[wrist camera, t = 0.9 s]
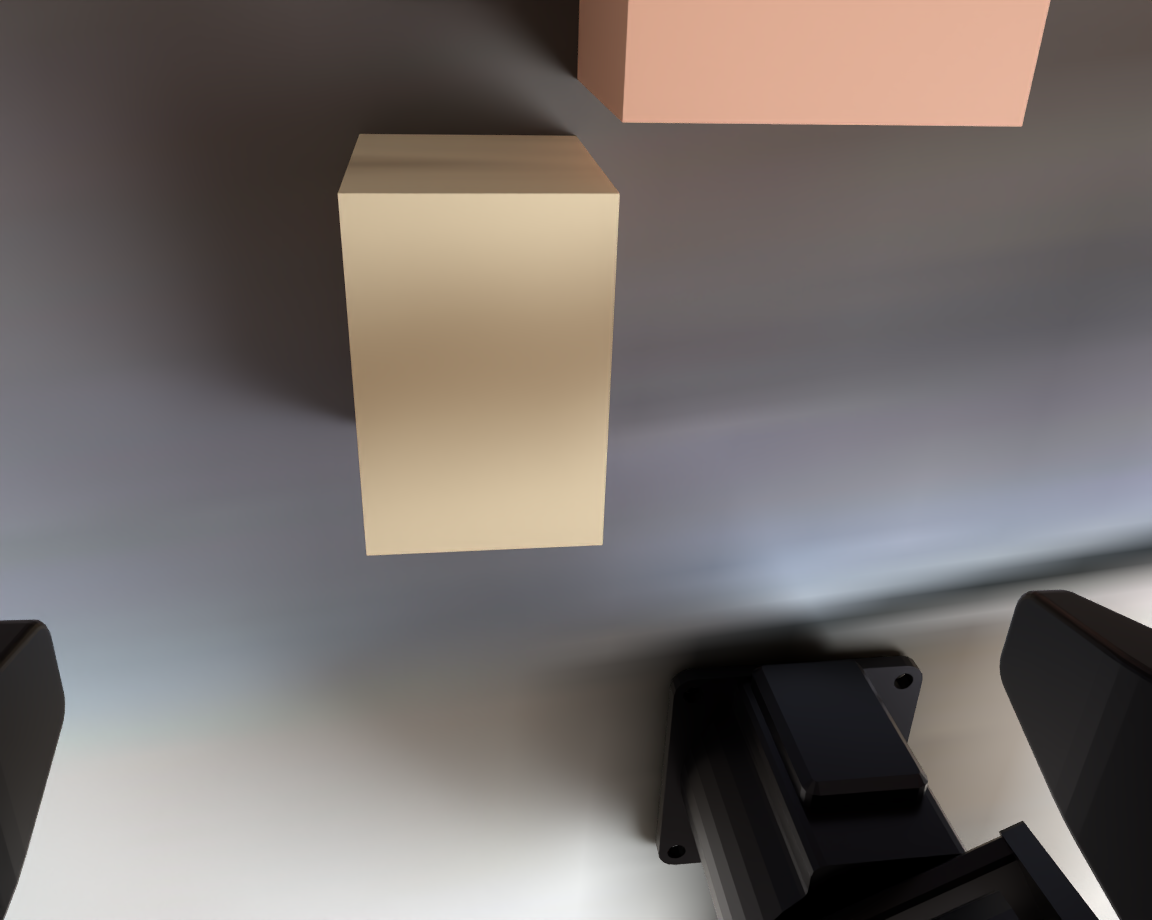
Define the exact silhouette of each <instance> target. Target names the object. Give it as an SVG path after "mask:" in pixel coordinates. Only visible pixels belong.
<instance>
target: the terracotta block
mask: <svg viewBox="0 0 1152 920" xmlns="http://www.w3.org/2000/svg"><path fill="white" fill-rule="evenodd" d="M1049 4H1050V0H580V3H579V38H578V74H577V79H578V80H579V81H580V82H581V83H582V84H583V85H584V86H585V87H586V88H587V89H588V90H589V91H590V92H591V93H592V94H593V95H594V96H595V97H596V98H598V99H599V100H600V101H601V102H602V103H603V104H604V105H605V106H606V107H607V108H608V109H609V110H610V111H611V112H612V113H613V114H614V115H615V116H616V117H617V118H619V119H620V120H621V121H622V122H638V123H736V124H833V125H931V126H1022V123H1023V119H1024V115H1025V110H1026V106H1027V101H1028V97H1029V93H1030V88H1031V84H1032V79H1033V75H1034V70H1035V66H1036V62H1037V57H1038V53H1039V48H1040V44H1041V39H1042V35H1043V31H1044V26H1045V22H1046V17H1047V13H1048V8H1049Z"/></svg>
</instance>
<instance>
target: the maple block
mask: <svg viewBox="0 0 1152 920" xmlns="http://www.w3.org/2000/svg"><path fill="white" fill-rule="evenodd" d="M619 195H620V194H619V192H618V191H617V190H616V188H615V187H614V186H613V184H612V183H611V182H610V180H609V179H608V178H607V176H606V175H605V174H604V172H603V171H602V170H601V168H600V167H599V166H598V164H597V163H596V162H595V160H594V159H593V158H592V157H591V155H590V154H589V153H588V151H587V150H586V149H585V147H584V146H583V145H582V143H581V142H580V141H579V139H578V138H577V137H576V136H549V135H428V134H359V137H358V139H357V142H356V145H355V148H354V150H353V153H352V156H351V159H350V161H349V164H348V167H347V170H346V172H345V175H344V178H343V180H342V183H341V186H340V189H339V191H338V203H339V216H340V228H341V241H342V253H343V266H344V278H345V291H346V303H347V316H348V328H349V341H350V353H351V366H352V378H353V391H354V404H355V416H356V429H357V441H358V454H359V466H360V479H361V491H362V504H363V516H364V529H365V541H366V554H367V556H370V555H392V554H414V553H436V552H458V551H480V550H502V549H524V548H546V547H568V546H590V545H603V524H604V503H605V483H606V462H607V442H608V421H609V401H610V380H611V360H612V339H613V318H614V298H615V277H616V257H617V236H618V216H619Z"/></svg>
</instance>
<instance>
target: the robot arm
mask: <svg viewBox="0 0 1152 920" xmlns="http://www.w3.org/2000/svg"><path fill="white" fill-rule="evenodd" d="M902 674H905V675H904V676H902V677H901V678H898V679H896V678H897V677H898V676H900V675H902ZM1000 675H1001V680H1002V683H1003V686H1004V688H1005V690H1006V693H1007V695H1008V697H1009V699H1010V702H1011V704H1012V706H1013V709H1014V711H1015V713H1016V715H1017V718H1018V720H1019V722H1020V724H1021V727H1022V729H1023V731H1024V733H1025V736H1026V738H1027V740H1028V742H1029V745H1030V747H1031V749H1032V751H1033V754H1034V756H1035V758H1036V761H1037V763H1038V765H1039V767H1040V770H1041V772H1042V774H1043V776H1044V779H1045V781H1046V783H1047V785H1048V788H1049V790H1050V792H1051V794H1052V797H1053V799H1054V801H1055V803H1056V805H1057V807H1058V809H1059V811H1060V813H1061V815H1062V817H1063V820H1064V821H1065V823H1066V825H1067V827H1068V829H1069V831H1070V833H1071V834H1072V836H1073V838H1074V840H1075V842H1076V844H1077V846H1078V847H1079V849H1080V851H1081V853H1082V854H1083V856H1084V858H1085V860H1086V861H1087V863H1088V865H1089V867H1090V868H1091V870H1092V872H1093V874H1094V875H1095V877H1096V879H1097V881H1098V882H1099V884H1100V886H1101V888H1102V889H1103V891H1104V893H1105V895H1106V896H1107V898H1108V900H1109V902H1110V903H1111V905H1112V907H1113V909H1114V911H1115V912H1116V914H1117V916H1118V918H1119V919H1120V920H1152V628H1149V627H1147V626H1145V625H1143V624H1141V623H1138V622H1136V621H1134V620H1132V619H1130V618H1128V617H1125V616H1123V615H1121V614H1119V613H1117V612H1114V611H1112V610H1110V609H1108V608H1106V607H1103V606H1101V605H1099V604H1097V603H1095V602H1092V601H1090V600H1088V599H1086V598H1084V597H1081V596H1079V595H1077V594H1075V593H1073V592H1070V591H1066V590H1041V591H1029V592H1027V593H1025V594H1023V595H1022V596H1021V598H1020V599H1019V600H1018V602H1017V605H1016V607H1015V611H1014V614H1013V617H1012V621H1011V624H1010V627H1009V631H1008V634H1007V637H1006V641H1005V644H1004V647H1003V650H1002V654H1001V658H1000ZM921 683H922V673H921V671H920V670H919V668H918V667H917V665H916V664H915V662H914V661H913V660H912V659H911V658H909V657H906V656H892V657H876V658H860V659H844V660H827V661H811V662H795V663H779V664H763V665H747V666H731V667H714V668H698V669H689V670H684V671H682V672H680V673H679V674H677V675H676V676H675V677H674V678H673V680H672V682H671V685H670V694H669V705H668V716H667V726H666V737H665V748H664V759H663V769H662V780H661V791H660V802H659V812H658V823H657V834H656V846H657V850H658V854H659V858H660V859H661V860H662V861H663V862H664V863H667V864H673V865H677V864H688V863H700V862H701V863H702V866H703V869H704V873H705V876H706V880H707V883H708V886H709V890H710V893H711V897H712V900H713V903H714V907H715V910H716V914H717V917H718V920H1099V919H1098V918H1097V917H1096V915H1095V914H1094V913H1093V912H1092V910H1091V909H1090V908H1089V906H1088V905H1087V904H1086V902H1085V901H1084V900H1083V898H1082V897H1081V896H1080V895H1079V893H1078V892H1077V891H1076V889H1075V888H1074V887H1073V885H1072V884H1071V883H1070V882H1069V880H1068V879H1067V878H1066V876H1065V875H1064V874H1063V872H1062V871H1061V870H1060V868H1059V867H1058V866H1057V865H1056V863H1055V862H1054V861H1053V859H1052V858H1051V857H1050V855H1049V854H1048V853H1047V852H1046V850H1045V849H1044V848H1043V846H1042V845H1041V844H1040V842H1039V841H1038V840H1037V838H1036V837H1035V836H1034V835H1033V833H1032V832H1031V831H1030V829H1029V828H1028V827H1027V825H1026V824H1025V823H1024V822H1023V821H1021V822H1019V823H1017V824H1014V825H1012V826H1010V827H1008V828H1006V829H1004V830H1001V831H999V833H1000V835H1001V836H999V837H997V838H995V839H993V840H991V841H989V842H986V843H984V844H982V845H980V846H978V847H975V848H973V849H971V850H969V851H966V849H965V847H964V845H963V844H962V842H961V840H960V839H959V837H958V835H957V834H956V832H955V830H954V828H953V827H952V825H951V823H950V822H949V820H948V818H947V817H946V815H945V813H944V811H943V810H942V808H941V806H940V805H939V803H938V801H937V800H936V798H935V796H934V795H933V793H932V791H931V789H930V788H929V786H928V779H927V776H926V774H925V772H924V771H923V769H922V767H921V766H920V764H919V762H918V761H917V759H916V757H915V756H914V754H913V752H912V751H911V749H910V747H909V745H908V744H907V742H908V737H909V733H910V729H911V725H912V721H913V717H914V713H915V708H916V704H917V700H918V696H919V692H920V688H921ZM693 687H697V688H698V689H696V690H695V691H693V692H690V693H688V692H685V691H687V690H688V689H689V688H693ZM64 714H65V697H64V691H63V687H62V682H61V678H60V673H59V669H58V664H57V660H56V656H55V651H54V647H53V642H52V638H51V635H50V632H49V630H48V628H47V626H46V625H45V624H44V623H42V622H41V621H39V620H4V621H0V920H4V918H5V915H6V913H7V910H8V908H9V905H10V902H11V900H12V897H13V894H14V892H15V889H16V887H17V884H18V881H19V877H20V874H21V871H22V868H23V864H24V861H25V858H26V854H27V851H28V847H29V844H30V840H31V836H32V833H33V829H34V826H35V822H36V818H37V815H38V811H39V808H40V804H41V801H42V797H43V793H44V790H45V786H46V783H47V779H48V775H49V772H50V768H51V765H52V761H53V757H54V754H55V750H56V747H57V743H58V739H59V736H60V732H61V729H62V725H63V721H64ZM676 845H678V846H676ZM672 846H674V847H672Z"/></svg>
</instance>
